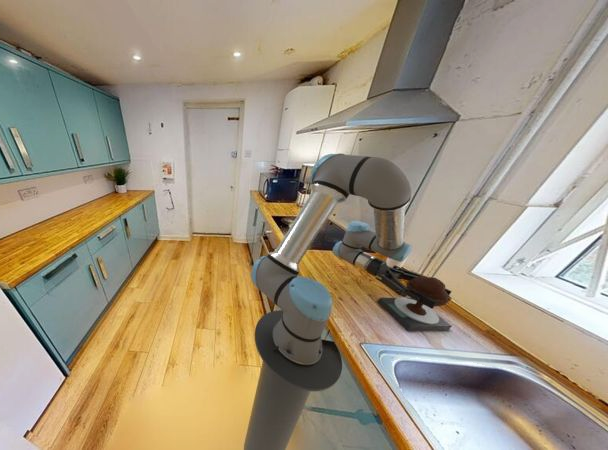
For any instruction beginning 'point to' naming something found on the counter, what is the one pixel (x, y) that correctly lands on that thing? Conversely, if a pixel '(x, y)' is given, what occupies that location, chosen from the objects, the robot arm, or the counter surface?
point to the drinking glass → (395, 262)
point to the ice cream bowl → (427, 292)
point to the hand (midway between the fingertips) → (442, 299)
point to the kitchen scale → (413, 315)
